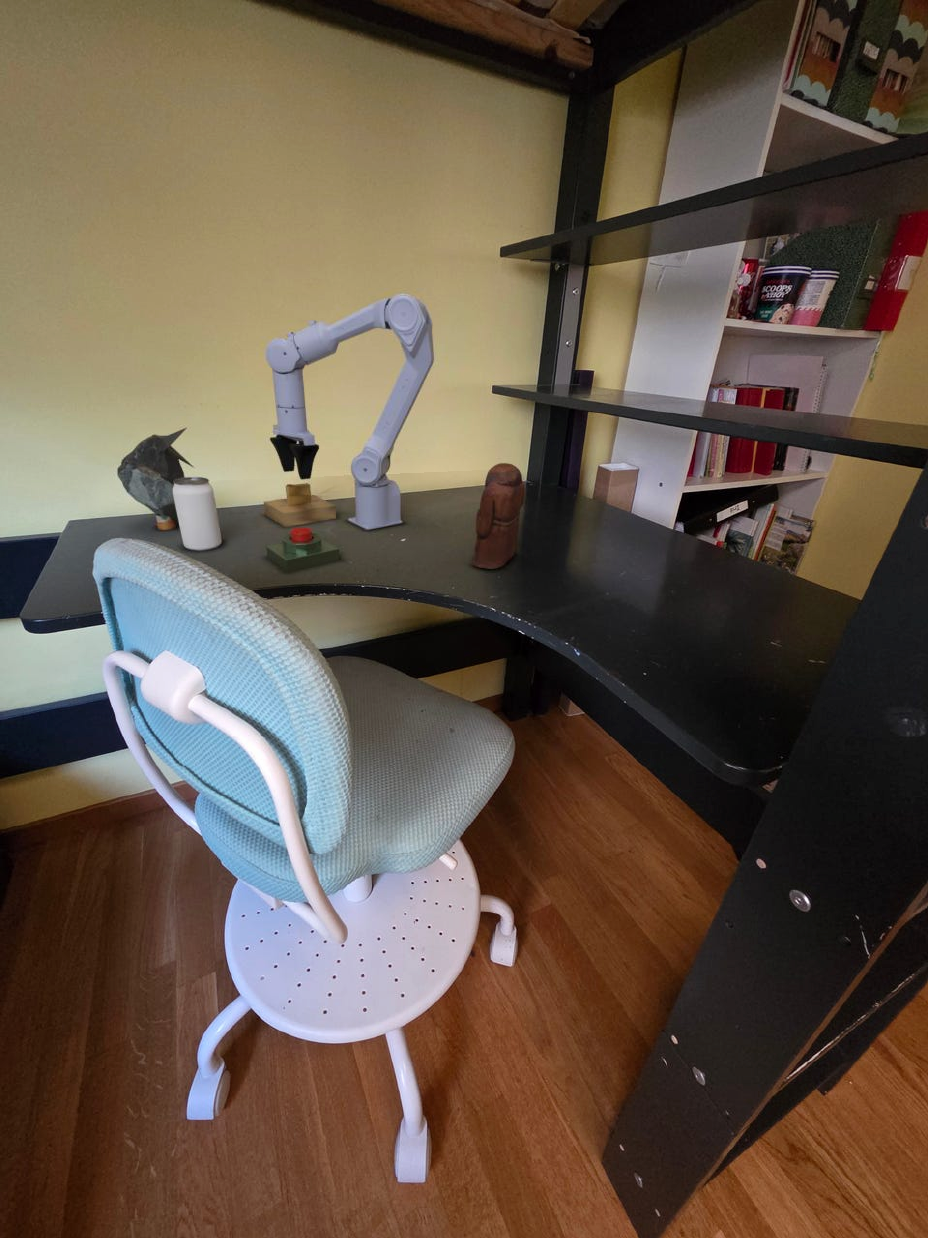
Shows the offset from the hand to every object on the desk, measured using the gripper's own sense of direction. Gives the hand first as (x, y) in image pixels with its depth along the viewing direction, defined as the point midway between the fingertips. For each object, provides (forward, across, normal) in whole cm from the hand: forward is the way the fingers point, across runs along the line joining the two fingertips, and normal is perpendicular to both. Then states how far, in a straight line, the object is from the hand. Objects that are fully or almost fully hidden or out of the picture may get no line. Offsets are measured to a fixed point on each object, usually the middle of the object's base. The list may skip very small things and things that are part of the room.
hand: (296, 474), depth 110 cm
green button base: (+9, +23, -11) cm, 27 cm away
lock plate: (+9, 0, 0) cm, 9 cm away
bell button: (+6, +23, -11) cm, 26 cm away
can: (+9, +7, -23) cm, 26 cm away
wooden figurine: (+9, +43, +18) cm, 48 cm away
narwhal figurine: (+9, -9, -24) cm, 27 cm away
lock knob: (+6, 0, 0) cm, 6 cm away
